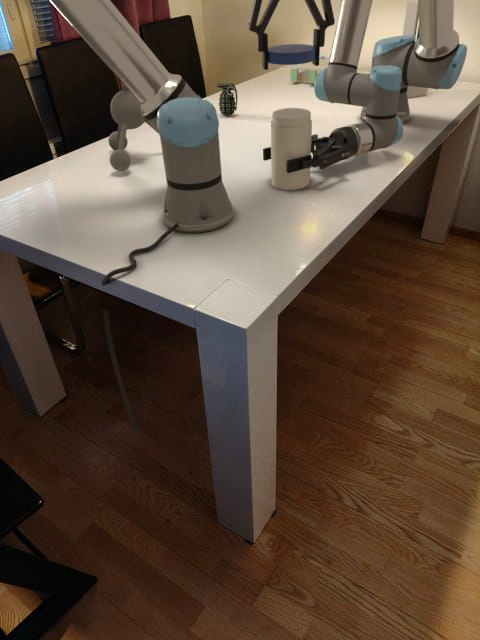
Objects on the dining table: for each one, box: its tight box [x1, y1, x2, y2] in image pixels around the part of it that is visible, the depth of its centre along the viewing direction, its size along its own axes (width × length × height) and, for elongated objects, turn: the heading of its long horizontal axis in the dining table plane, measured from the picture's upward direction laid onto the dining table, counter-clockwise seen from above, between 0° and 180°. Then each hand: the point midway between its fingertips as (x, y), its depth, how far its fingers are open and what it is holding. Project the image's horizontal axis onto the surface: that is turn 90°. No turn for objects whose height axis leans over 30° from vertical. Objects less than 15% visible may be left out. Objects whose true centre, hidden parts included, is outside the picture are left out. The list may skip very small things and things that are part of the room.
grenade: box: [215, 82, 238, 117], centre depth 166 cm, size 7×6×10 cm
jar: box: [270, 107, 313, 191], centre depth 115 cm, size 9×9×16 cm
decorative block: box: [290, 56, 330, 85], centre depth 205 cm, size 26×6×20 cm
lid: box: [268, 43, 316, 66], centre depth 103 cm, size 10×10×2 cm
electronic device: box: [402, 0, 429, 98], centre depth 170 cm, size 12×8×30 cm, turn 105°
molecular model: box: [107, 80, 159, 172], centre depth 131 cm, size 24×22×30 cm
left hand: (290, 66), depth 105 cm, fingers closed on lid, 10 cm apart
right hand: (275, 160), depth 115 cm, fingers closed on jar, 9 cm apart
